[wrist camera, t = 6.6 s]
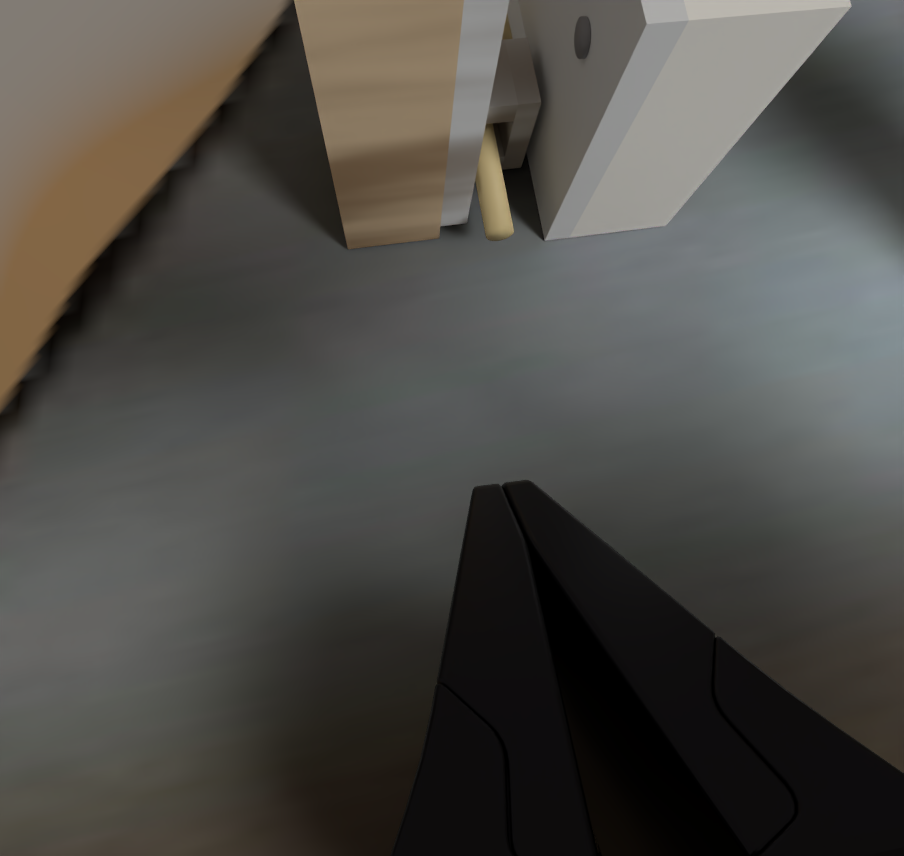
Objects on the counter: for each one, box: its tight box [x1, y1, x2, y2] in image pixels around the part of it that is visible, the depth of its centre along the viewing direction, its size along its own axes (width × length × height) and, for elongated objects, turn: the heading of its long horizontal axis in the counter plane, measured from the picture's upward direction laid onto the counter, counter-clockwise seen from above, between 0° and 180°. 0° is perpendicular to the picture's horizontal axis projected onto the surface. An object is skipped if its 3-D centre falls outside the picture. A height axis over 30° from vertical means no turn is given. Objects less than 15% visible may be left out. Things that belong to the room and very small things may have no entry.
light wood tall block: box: [294, 0, 541, 249], centre depth 17 cm, size 5×7×12 cm
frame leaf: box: [475, 0, 851, 241], centre depth 19 cm, size 9×9×10 cm
